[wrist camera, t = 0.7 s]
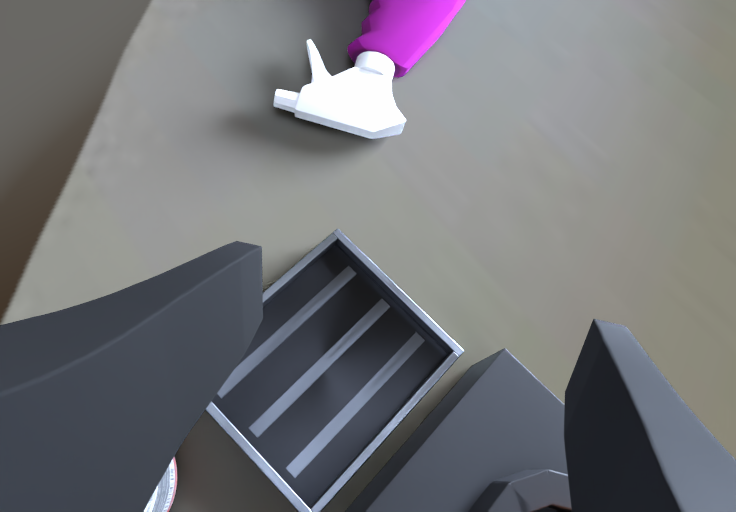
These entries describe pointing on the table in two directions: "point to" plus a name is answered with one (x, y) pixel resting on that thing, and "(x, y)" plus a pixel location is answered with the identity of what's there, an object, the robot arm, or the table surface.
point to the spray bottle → (371, 68)
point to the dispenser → (480, 449)
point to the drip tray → (329, 372)
